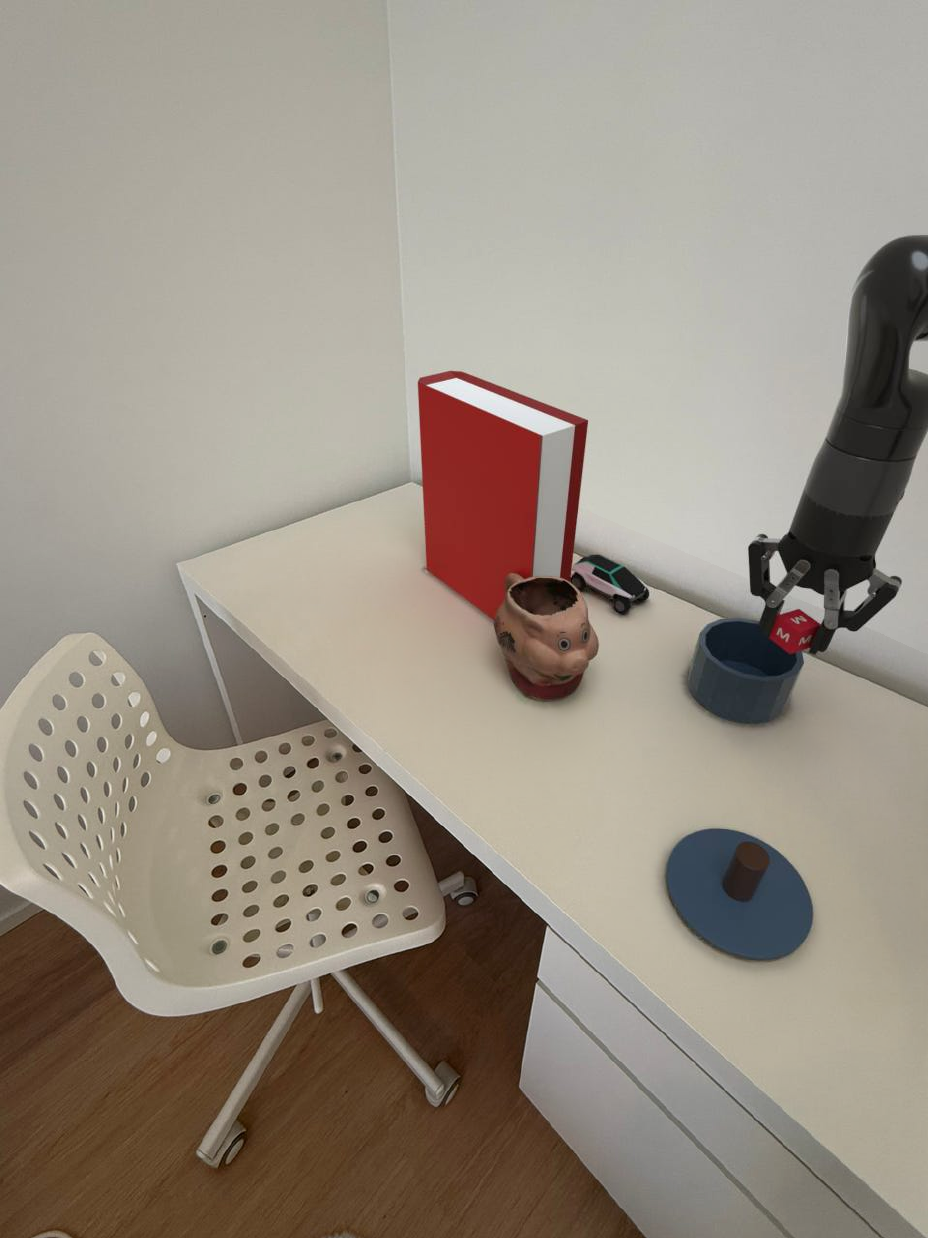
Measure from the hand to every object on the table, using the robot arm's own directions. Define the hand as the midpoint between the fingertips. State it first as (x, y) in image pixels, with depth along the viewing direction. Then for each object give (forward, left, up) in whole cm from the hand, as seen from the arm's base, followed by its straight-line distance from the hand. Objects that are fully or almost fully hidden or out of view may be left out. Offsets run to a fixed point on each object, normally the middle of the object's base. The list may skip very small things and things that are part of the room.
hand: (791, 640), depth 68 cm
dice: (0, 0, 0) cm, 0 cm away
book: (+45, -7, -18) cm, 49 cm away
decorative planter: (+28, +4, -18) cm, 34 cm away
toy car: (+30, -19, -18) cm, 40 cm away
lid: (-6, +19, -17) cm, 26 cm away
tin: (+5, -10, -18) cm, 21 cm away
